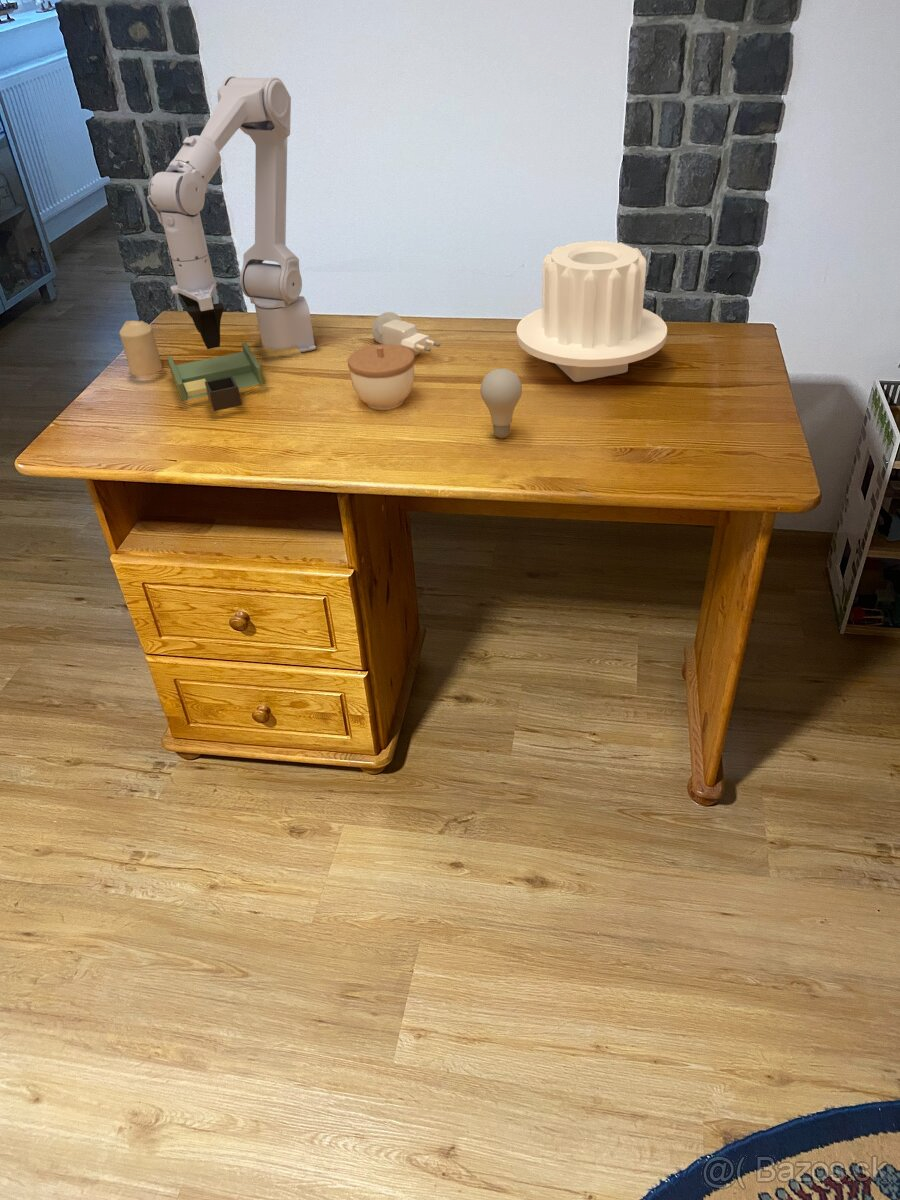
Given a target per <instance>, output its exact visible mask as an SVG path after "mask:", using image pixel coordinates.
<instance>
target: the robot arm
mask: <svg viewBox="0 0 900 1200" xmlns="http://www.w3.org/2000/svg"><path fill="white" fill-rule="evenodd" d="M291 105H292V97H291V95H290V93H289V91H288V89H287V87H286V85H285V84H284V82H283V81H282V80H281V79H280V78H279V77H276V76H275V77H270V78H268V77H267V78H266V77H236V76H232V75H230V76H227V77H226V78H224V80H223V81H222V83H221V85H220V87H218V88H217V104H216V106H215V108H214V109H213V111H212V112H211V115H210V117H209V118H208V121H207V122H206V123H205V126H204V128H203V129H202V131H201V133H200V135H198V134H197V135H191V136H186V137H185V138H184V140H183V142H182V143H183V145H182V146H181V148H180V149H179V150H178V152H177V153H176V155H175V156H174V158H173V159H172V160H171V161H170V163H169V164H168V166H167V167H166V168H165V171H158V172H157V173H155V174H154V176H152V177H151V178H150V180H149V183H148V189H147V191H148V195H147V197H146V198H147V202H148V205H149V206H150V207H151V209H152V210H153V211H154V212H155V213H156V216H157V218H158V222H159V223H160V225H161V226H162V227H163V229H164V235H165V239H166V243H167V246H168V247H167V248H168V250H169V251H168V252H169V255H170V258H171V259H170V260H171V262H172V268H173V271H174V275H175V279H176V283H177V284H174V285H171V286H170V292H171V293H172V294H173V295H176V294H177V295H178V296H179V297H180V299H181V300H182V301H183V302H184V304H185V305H186V306H185V310H186V312H187V314H188V315H189V317H190V318H191V319H192V322H193V324H194V326H195V328H196V330H197V332H198V333H199V334H200V336H201V339H202V342H203V343H204V344H203V345H205V348H206V349H207V350H211V349H215V348H220V347H221V322H222V316H223V313H224V310H225V308H224V307H225V306H224V304H223V302H217V303H213V295H214V293H215V291H216V288H217V281H216V279H215V278H214V273H213V268H212V263H211V259H210V253H209V251H208V245H207V241H206V236H205V231H204V228H203V223H202V218H201V217H202V216H201V213H200V212H201V211H202V210H203V209H204V206H205V200H206V199H205V198H206V192H207V191H208V190H207V189H208V185H209V183H210V181H211V180H212V178H213V176H215V174H216V172H217V171H218V169H219V167H220V166H221V164H222V157H221V154H220V152H221V151H222V150H223V148H224V147H225V146H226V144H227V143H228V142H229V141H230V139H231V138H233V136H234V135H235V134H236V132H237V131H238V130H241V131H242V132H243V133H244V134H245V135H247V136H249V138H251V140H252V141H253V143H254V145H255V165H254V167H255V175H254V176H255V177H254V179H255V180H254V181H255V183H254V184H255V185H254V189H255V190H254V207H255V208H254V243H253V245H252V246H251V247H249V248H248V249H247V250H246V251H245V252H244V253H243V261H242V267H241V270H240V273H239V285H240V288H241V291H242V293H243V294H244V295H245V296H246V297H247V298H249V300H250V304H253V305H254V309H255V314H256V315H255V316H256V321H257V325H258V330H259V331H258V332H259V335H260V341H261V346H262V347H263V348H264V349H267V350H269V351H271V350H272V351H283V350H289V349H292V348H295V347H296V348H297V349H298V350H299V352H300V353H305V352H310V351H314V350H316V349H317V346H316V344H315V337H314V332H313V325H312V318H311V313H310V307H309V305H308V301H307V299H306V298H305V296H303V295H301V293H302V290H303V289H302V287H303V280H302V279H303V278H302V275H301V271H300V258H299V257H298V256H297V255H296V254H295V253H293V251H292V250H290V248H289V247H288V246H286V243H287V242H286V240H287V236H286V235H287V191H288V189H287V188H288V187H287V186H288V185H287V183H288V182H287V181H288V137H290V135H291V110H292V109H291V108H292V107H291ZM265 261H267V262H274V263H267V262H265ZM276 263H277V264H276Z"/></svg>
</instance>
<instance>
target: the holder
mask: <svg viewBox="0 0 900 1200" xmlns="http://www.w3.org/2000/svg"><path fill="white" fill-rule="evenodd" d="M205 386H206V390H207V394H208V395H207V398H208V402H209V404H210V405H211V408H212V410H213V412H216V411H221V410H226V409H231V408H235V407H239V406H242V400H241V395H240V389H238V386H237V384H236V382H235V381H234V379H233V377H232V376H230V377H225V378H220V379H216V380H211V381H206V382H205Z"/></svg>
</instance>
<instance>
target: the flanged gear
mask: <svg viewBox="0 0 900 1200" xmlns="http://www.w3.org/2000/svg"><path fill="white" fill-rule="evenodd" d="M647 264H648V263H647V259H646V256H644V255H643V253H642V252H641V250H640V249H639V248H638V247H632V246H630V245H627V244H624V243H623V242H621V241H620V242H614V241H606V240H605V241H603V240H600V239H597V240H589V241H588V240H587V241H578V242H577V241H573V242H572V243H568V244H565V245H562V246H556V247H554V248H553V249H552V251H551V253H548V254H546V255H545V257H544V259H543V262H542V286H541V287H542V288H541V289H542V290H541V291H542V293H541V296H542V297H541V307H540V308H538V309H536V310H533V311H532V312H530V313H528V314H526V315H525V316H524V317H523V318H521V319H520V321H519V322H518V324H517V326H516V342H517V344H518V345H519V346H520V348H521V349H522V350H523V351H525V352H526V353H528V354H529V355H531V356H532V357H535V358H536V359H539V360H542V361H546V362H549V363H552V364H555V365H556V366H557V367H558V368H559V369H560V370H561V371H562V372H563V373H564V374H566V376H568V378H570V379H571V380H572V381H573V382H574V383H580V382H587V381H591V380H595V379H600V378H606V377H611V376H616V375H621V374H625V373H627V372H628V371H629V364H630V363H634V362H638V361H641V360H644V359H647V358H649V357H651V356H653V355H654V354H656V353H658V352H659V351H660V350H661V349H662V348H663V347H664V345H665V344H666V342H667V336H668V326H667V324H666V322H665V321H664V319H663V318H661V316H659V315H657V314H656V313H654V312H652V311H651V310H649V309H646V308H644V297H645V288H646V275H647Z"/></svg>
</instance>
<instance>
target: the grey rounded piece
mask: <svg viewBox="0 0 900 1200" xmlns="http://www.w3.org/2000/svg"><path fill="white" fill-rule="evenodd" d="M394 319H398V320H402V318H401V316H400V315H399V314H397V313H395V312H392V311H386V312H383V313H381V314H379V315H378V316H377V317H376V319H375V320H374V321H373V324H372V327H371V331H372V336H373V339H374V340H375V342H377V343H378V344H379V345H381V344H383V337H382V326H383V324H385V323H387V322H389V321H391V320H394Z"/></svg>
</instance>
